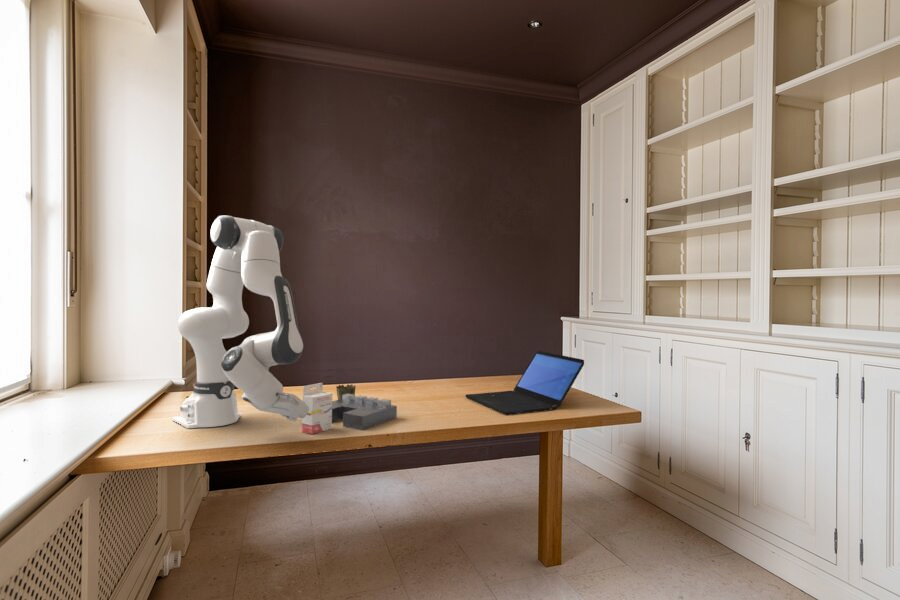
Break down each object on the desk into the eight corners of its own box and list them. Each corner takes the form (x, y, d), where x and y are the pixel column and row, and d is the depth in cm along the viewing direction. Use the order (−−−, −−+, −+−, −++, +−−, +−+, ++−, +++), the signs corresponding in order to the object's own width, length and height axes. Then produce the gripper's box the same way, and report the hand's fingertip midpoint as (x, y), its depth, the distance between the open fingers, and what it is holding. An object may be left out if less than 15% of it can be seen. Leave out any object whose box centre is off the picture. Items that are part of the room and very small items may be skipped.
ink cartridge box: (312, 434, 150) (313, 387, 150) (301, 432, 153) (301, 386, 153) (332, 428, 157) (333, 383, 157) (321, 426, 160) (322, 382, 160)
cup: (336, 408, 184) (336, 388, 184) (335, 404, 192) (335, 384, 191) (356, 407, 186) (356, 387, 186) (354, 403, 194) (354, 383, 193)
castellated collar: (310, 419, 168) (310, 401, 168) (346, 409, 184) (346, 392, 183) (362, 430, 156) (362, 410, 156) (396, 418, 171) (396, 400, 171)
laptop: (464, 398, 207) (465, 353, 207) (537, 392, 223) (538, 350, 222) (504, 416, 177) (505, 364, 177) (585, 407, 192) (586, 359, 192)
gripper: (297, 386, 134) (323, 414, 143) (250, 379, 145) (277, 406, 153) (284, 405, 131) (312, 432, 139) (237, 397, 141) (265, 423, 150)
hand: (293, 418), depth 146 cm, fingers closed
